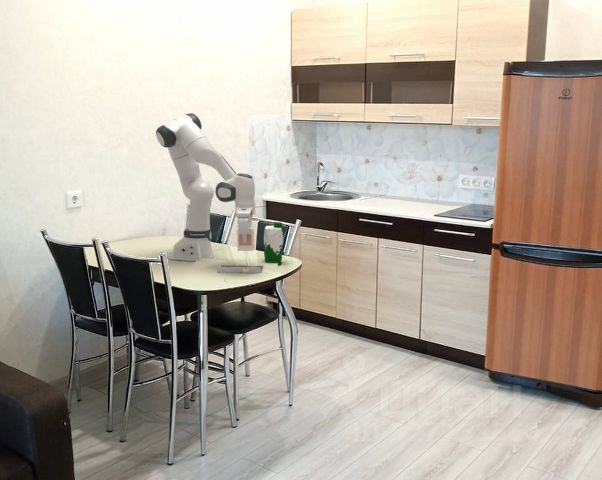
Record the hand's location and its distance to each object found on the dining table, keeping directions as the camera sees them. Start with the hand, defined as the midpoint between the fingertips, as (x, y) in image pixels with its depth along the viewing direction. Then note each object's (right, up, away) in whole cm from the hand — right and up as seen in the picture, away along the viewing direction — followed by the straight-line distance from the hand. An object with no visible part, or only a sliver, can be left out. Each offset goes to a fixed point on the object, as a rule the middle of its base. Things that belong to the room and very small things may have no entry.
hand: (245, 240), depth 286 cm
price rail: (-3, -14, -1) cm, 15 cm away
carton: (0, -4, +1) cm, 4 cm away
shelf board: (-3, -14, +6) cm, 16 cm away
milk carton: (+11, -11, +22) cm, 27 cm away
